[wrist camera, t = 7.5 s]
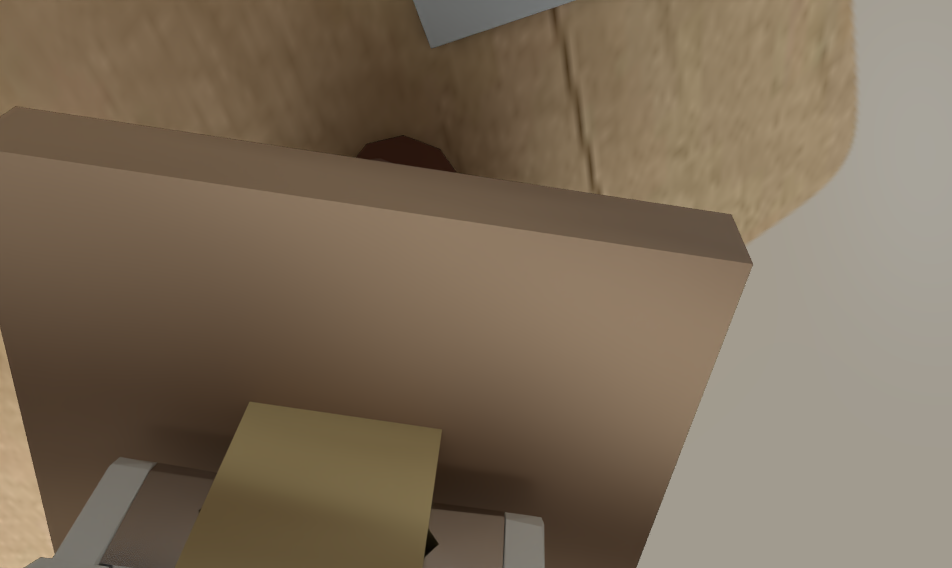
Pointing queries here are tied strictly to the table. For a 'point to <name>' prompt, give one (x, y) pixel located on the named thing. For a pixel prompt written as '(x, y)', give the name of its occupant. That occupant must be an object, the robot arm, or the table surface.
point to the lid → (350, 341)
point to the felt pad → (473, 16)
